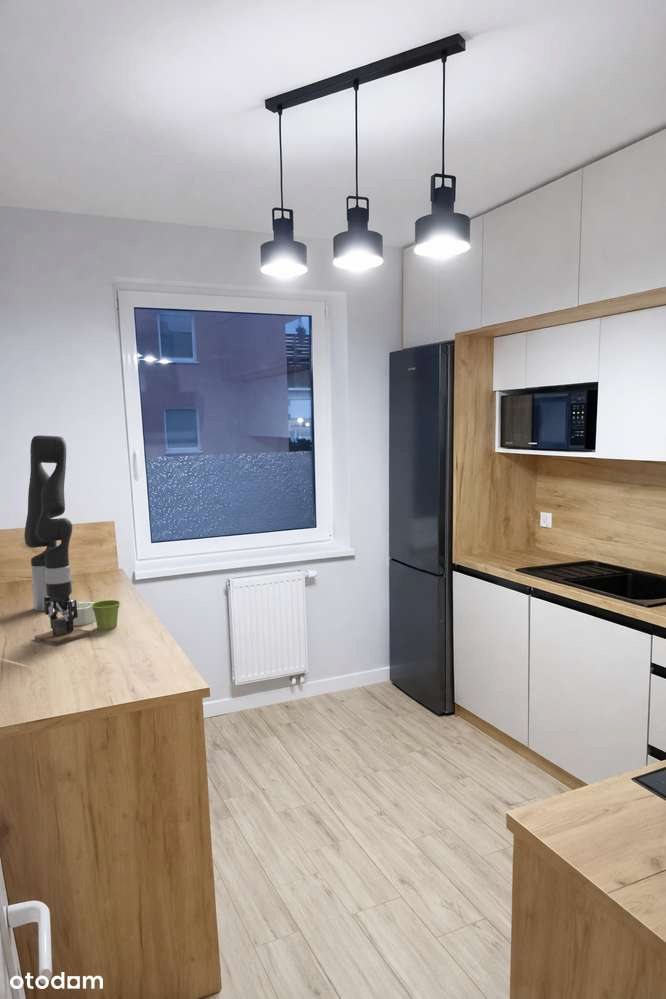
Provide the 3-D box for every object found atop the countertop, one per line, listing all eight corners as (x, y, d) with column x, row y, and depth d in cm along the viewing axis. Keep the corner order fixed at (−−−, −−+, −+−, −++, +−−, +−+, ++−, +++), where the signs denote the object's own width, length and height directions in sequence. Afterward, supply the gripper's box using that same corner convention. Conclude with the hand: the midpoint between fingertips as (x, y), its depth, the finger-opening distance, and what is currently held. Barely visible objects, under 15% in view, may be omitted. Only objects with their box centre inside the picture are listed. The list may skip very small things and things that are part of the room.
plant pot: (128, 625, 224) (126, 601, 223) (107, 633, 215) (106, 608, 214) (107, 623, 227) (105, 599, 227) (86, 631, 219) (84, 605, 218)
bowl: (60, 624, 228) (59, 607, 228) (85, 616, 237) (83, 600, 236) (78, 627, 223) (76, 610, 222) (102, 620, 231) (101, 603, 231)
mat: (30, 641, 209) (30, 640, 209) (68, 629, 221) (68, 628, 221) (56, 648, 202) (56, 646, 202) (95, 635, 213) (94, 634, 213)
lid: (34, 639, 210) (33, 620, 209) (67, 629, 220) (66, 611, 219) (57, 645, 203) (55, 625, 202) (90, 634, 213) (89, 616, 212)
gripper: (82, 580, 209) (86, 629, 210) (55, 575, 216) (59, 623, 218) (61, 585, 202) (65, 636, 204) (34, 580, 210) (38, 629, 212)
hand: (62, 629), depth 211 cm, fingers open, 7 cm apart
